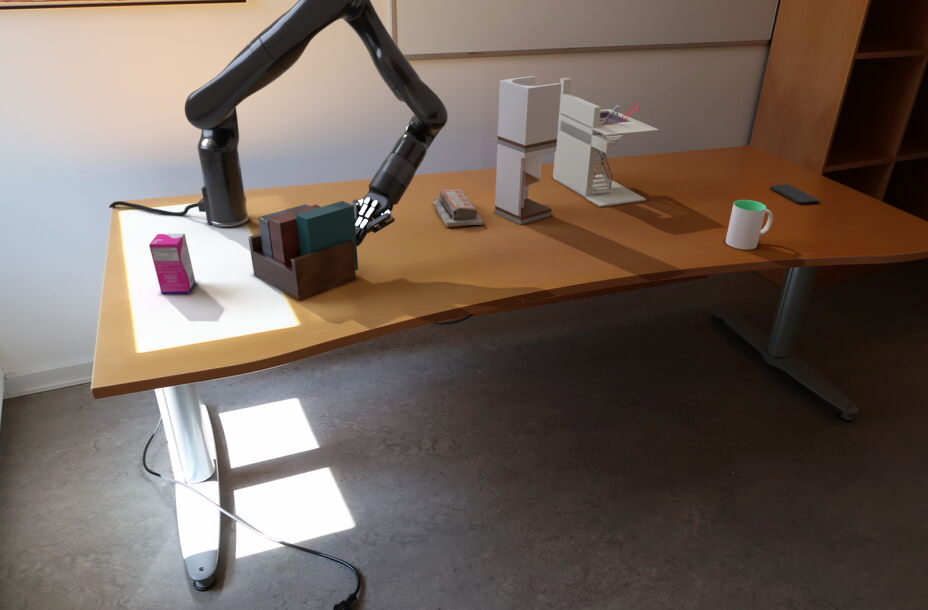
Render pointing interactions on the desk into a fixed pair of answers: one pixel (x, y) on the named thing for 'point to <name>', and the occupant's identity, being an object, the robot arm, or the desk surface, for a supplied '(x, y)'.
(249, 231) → the desk surface
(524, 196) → the notched white tower
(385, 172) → the robot arm
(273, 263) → the book rack
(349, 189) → the desk surface
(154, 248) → the supplement box
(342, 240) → the book
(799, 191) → the phone
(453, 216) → the packaged product
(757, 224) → the mug
